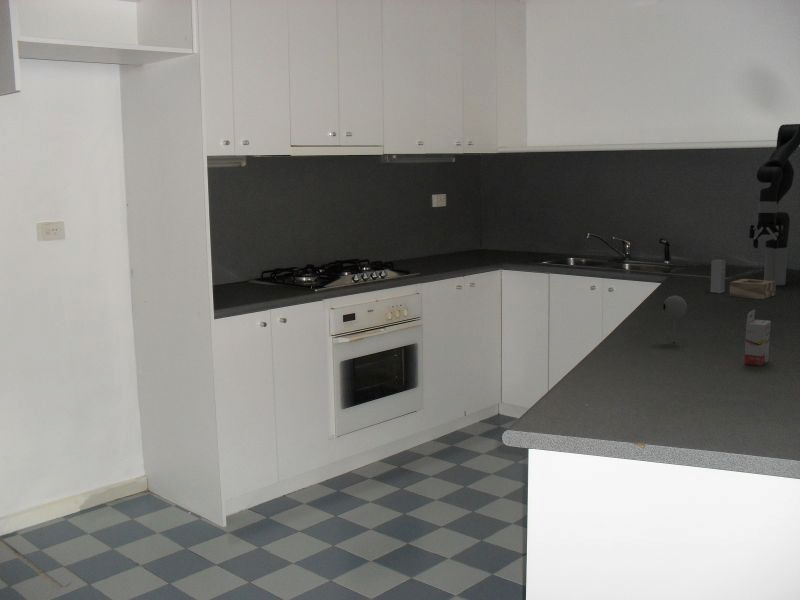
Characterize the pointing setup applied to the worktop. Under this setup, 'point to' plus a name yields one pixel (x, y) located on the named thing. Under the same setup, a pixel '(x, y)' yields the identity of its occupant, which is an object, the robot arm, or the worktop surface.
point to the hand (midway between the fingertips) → (765, 248)
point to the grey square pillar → (718, 276)
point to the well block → (752, 288)
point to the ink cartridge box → (757, 340)
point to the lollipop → (674, 309)
